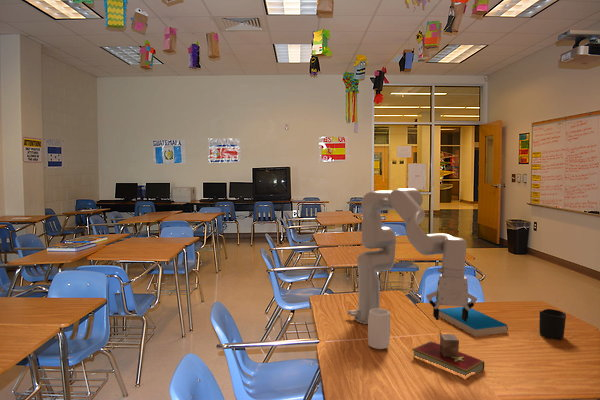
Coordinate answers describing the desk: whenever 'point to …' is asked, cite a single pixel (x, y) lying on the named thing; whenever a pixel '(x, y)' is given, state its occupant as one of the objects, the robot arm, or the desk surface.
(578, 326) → the desk surface
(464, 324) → the book
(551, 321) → the pen holder
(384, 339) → the cup
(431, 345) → the hardcover book
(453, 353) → the walnut block
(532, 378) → the desk surface
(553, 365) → the desk surface
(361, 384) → the desk surface
